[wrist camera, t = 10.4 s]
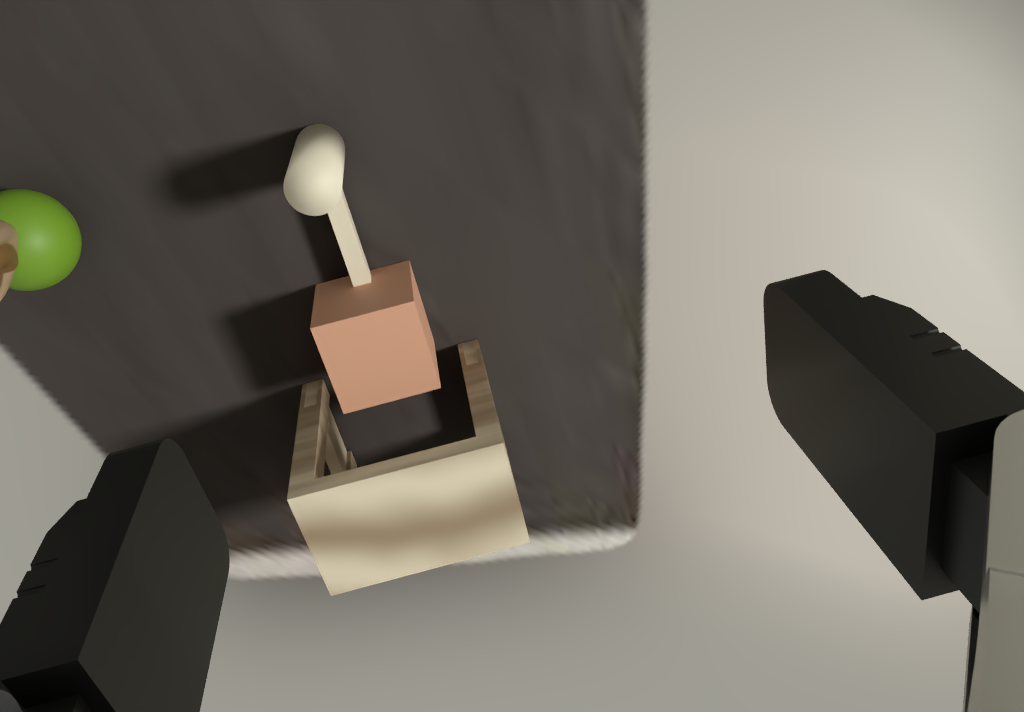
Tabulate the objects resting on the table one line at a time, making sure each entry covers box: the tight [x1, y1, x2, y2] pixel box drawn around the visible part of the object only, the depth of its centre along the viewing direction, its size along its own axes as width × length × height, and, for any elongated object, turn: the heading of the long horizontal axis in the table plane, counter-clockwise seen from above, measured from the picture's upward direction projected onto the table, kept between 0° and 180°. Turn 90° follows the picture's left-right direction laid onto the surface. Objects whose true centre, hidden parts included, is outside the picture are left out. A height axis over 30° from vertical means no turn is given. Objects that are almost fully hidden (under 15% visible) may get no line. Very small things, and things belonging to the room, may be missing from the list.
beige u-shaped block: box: [287, 339, 530, 596], centre depth 50 cm, size 8×12×12 cm, turn 102°
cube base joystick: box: [283, 124, 441, 414], centre depth 46 cm, size 15×6×8 cm, turn 12°
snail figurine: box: [0, 189, 82, 301], centre depth 40 cm, size 5×6×12 cm
